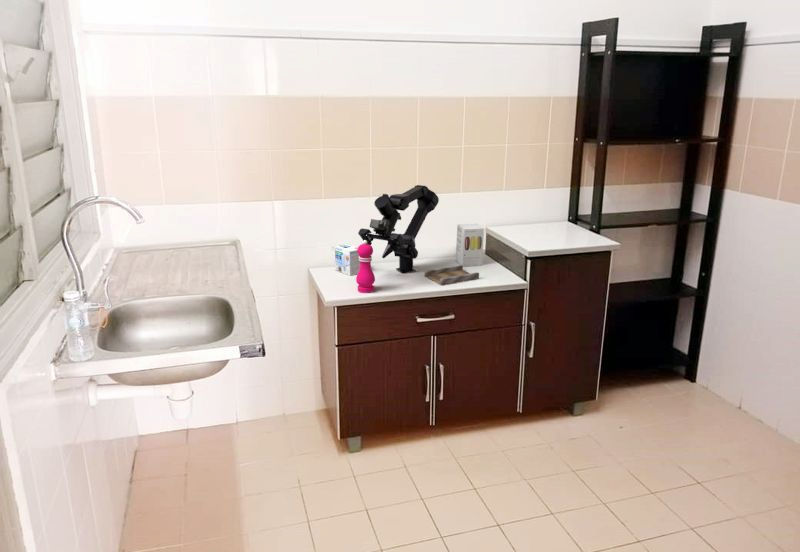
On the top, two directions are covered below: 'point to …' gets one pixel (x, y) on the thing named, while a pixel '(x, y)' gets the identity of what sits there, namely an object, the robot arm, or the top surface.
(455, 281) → the track board
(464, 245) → the supplement box
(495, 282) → the top surface
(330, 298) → the top surface
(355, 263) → the light bulb box
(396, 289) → the top surface
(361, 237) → the robot arm
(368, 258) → the pepper mill
